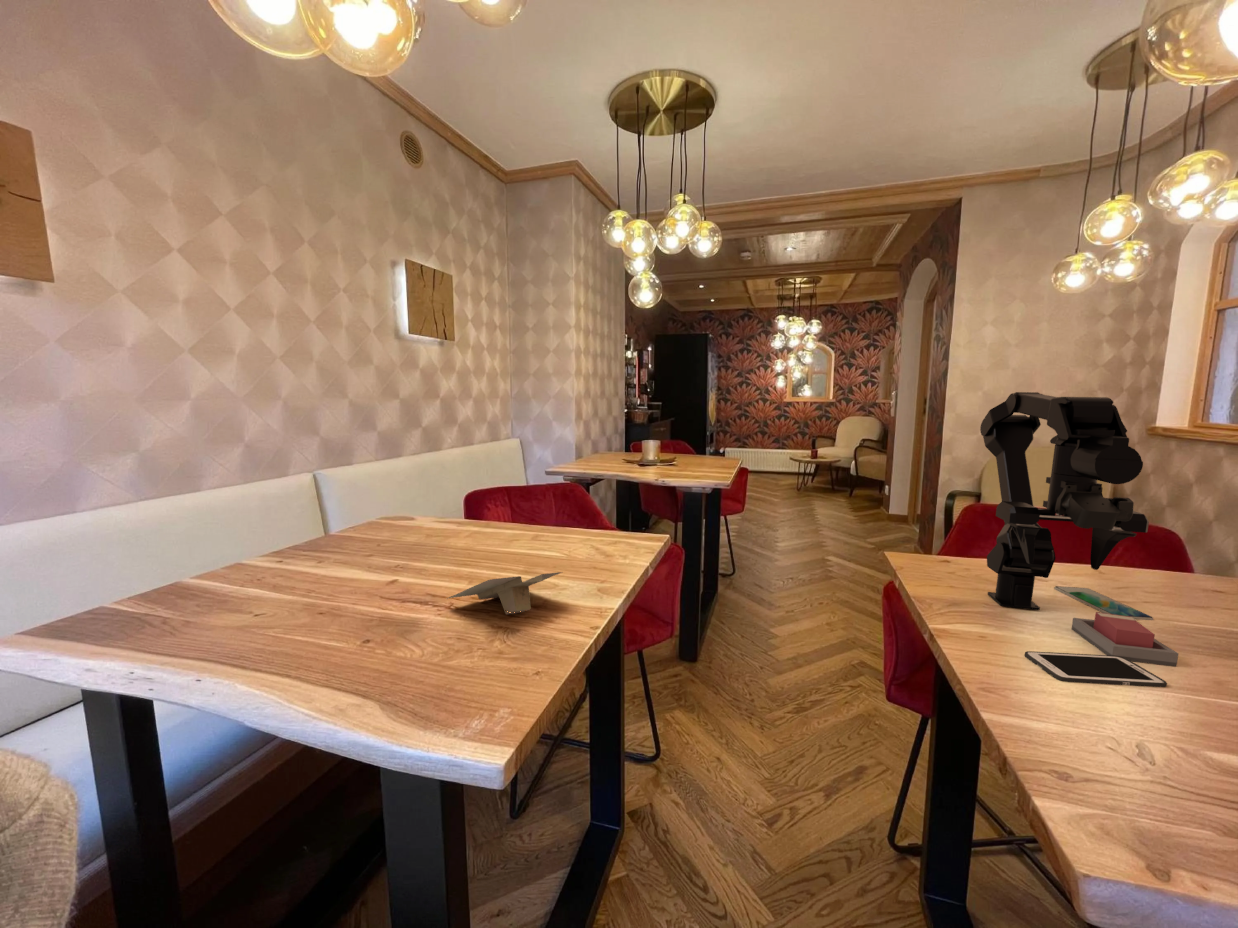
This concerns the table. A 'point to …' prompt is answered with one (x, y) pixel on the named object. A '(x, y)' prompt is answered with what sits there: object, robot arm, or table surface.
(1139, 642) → the card box
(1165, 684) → the cell phone
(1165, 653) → the pocket tray
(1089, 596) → the smartphone
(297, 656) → the table surface
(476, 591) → the grey winged bracket
